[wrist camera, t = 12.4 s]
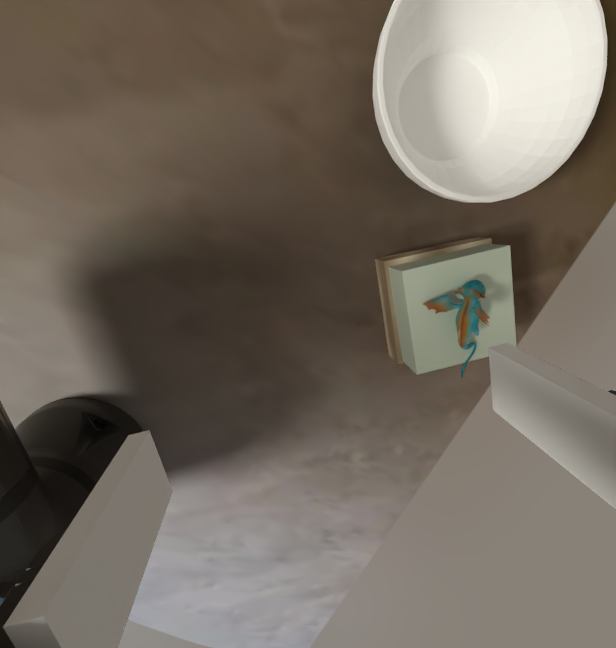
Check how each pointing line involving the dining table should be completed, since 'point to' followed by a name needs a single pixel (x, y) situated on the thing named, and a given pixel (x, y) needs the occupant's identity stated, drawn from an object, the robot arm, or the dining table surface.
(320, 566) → the dining table surface
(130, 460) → the robot arm
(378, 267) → the tower base
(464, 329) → the dragon figurine
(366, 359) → the dining table surface
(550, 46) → the bowl
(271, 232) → the dining table surface
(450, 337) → the tower top
